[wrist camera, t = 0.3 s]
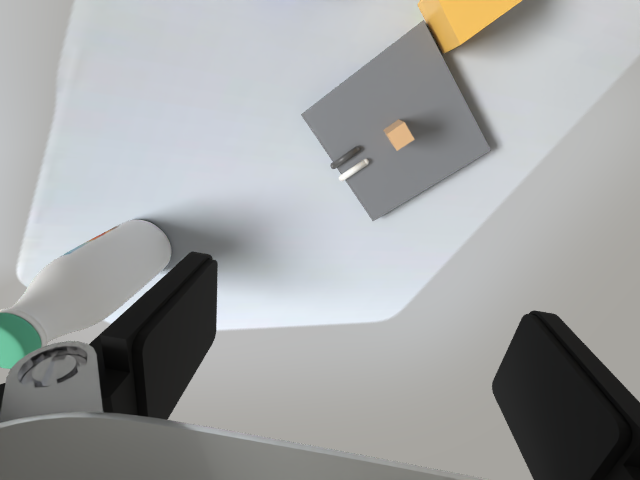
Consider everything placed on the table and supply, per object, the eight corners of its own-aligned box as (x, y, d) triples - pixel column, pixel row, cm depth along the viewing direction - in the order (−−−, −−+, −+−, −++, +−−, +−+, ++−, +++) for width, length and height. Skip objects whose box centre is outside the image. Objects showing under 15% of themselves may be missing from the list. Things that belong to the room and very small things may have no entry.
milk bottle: (151, 208, 42) (-7, 293, 24) (184, 260, 44) (64, 372, 26) (105, 230, 44) (-74, 323, 26) (139, 278, 46) (-3, 395, 28)
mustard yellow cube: (468, -36, 30) (493, -66, 24) (492, 18, 31) (522, 0, 25) (417, 4, 31) (430, -16, 26) (442, 54, 32) (460, 44, 27)
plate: (420, 23, 32) (434, 7, 26) (485, 148, 35) (509, 157, 30) (299, 116, 36) (289, 119, 30) (369, 219, 40) (371, 238, 34)
